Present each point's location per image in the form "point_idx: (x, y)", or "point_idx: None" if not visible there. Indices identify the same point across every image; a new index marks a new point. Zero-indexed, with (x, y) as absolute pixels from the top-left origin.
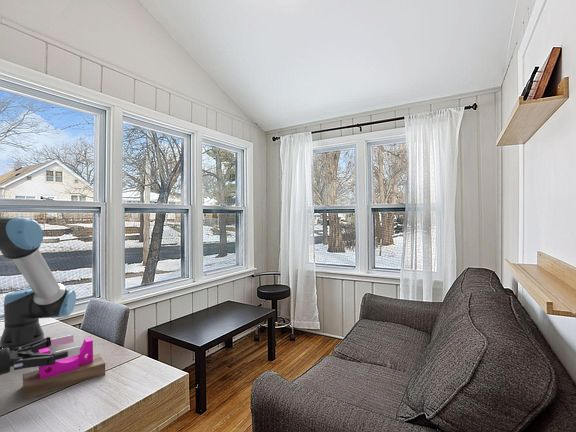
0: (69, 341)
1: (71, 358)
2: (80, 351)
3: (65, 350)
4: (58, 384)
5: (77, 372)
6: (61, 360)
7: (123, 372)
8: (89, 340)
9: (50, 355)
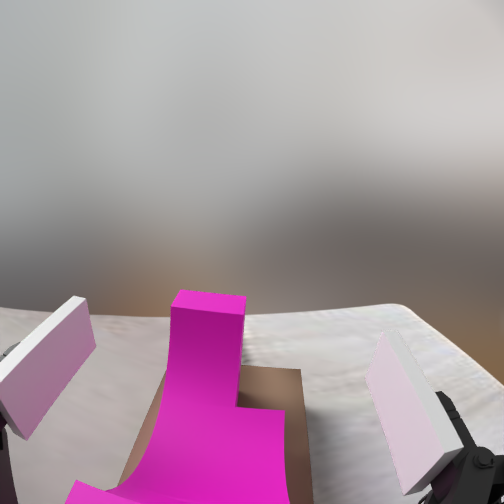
0: (82, 350)
1: (224, 437)
2: (218, 380)
3: (429, 394)
4: None
5: (308, 459)
6: (226, 484)
7: (317, 367)
8: (229, 302)
9: (492, 476)
